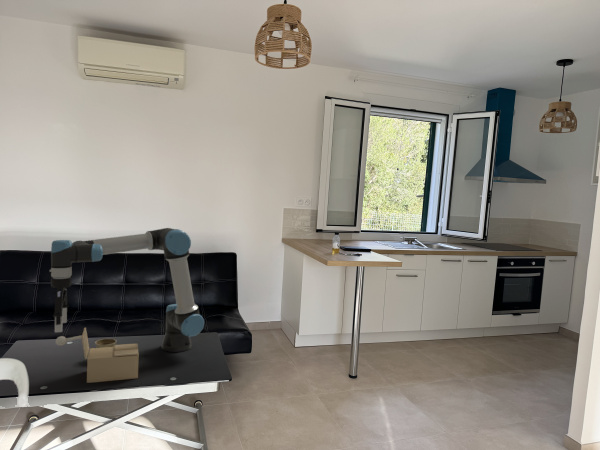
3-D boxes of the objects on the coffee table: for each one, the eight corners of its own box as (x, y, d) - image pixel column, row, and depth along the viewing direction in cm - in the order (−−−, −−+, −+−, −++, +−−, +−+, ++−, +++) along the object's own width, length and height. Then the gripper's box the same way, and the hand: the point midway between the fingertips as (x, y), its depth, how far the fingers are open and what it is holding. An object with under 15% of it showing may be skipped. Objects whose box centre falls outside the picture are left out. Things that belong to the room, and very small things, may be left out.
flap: (85, 327, 193) (57, 332, 189) (82, 336, 181) (52, 342, 177) (89, 348, 194) (61, 354, 190) (86, 358, 182) (56, 365, 178)
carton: (137, 366, 203) (138, 343, 202) (137, 378, 190) (138, 353, 189) (89, 370, 195) (90, 346, 195) (86, 382, 182) (87, 356, 182)
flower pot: (108, 363, 204) (108, 345, 203) (90, 361, 206) (90, 343, 205) (120, 357, 213) (120, 339, 213) (102, 354, 215) (103, 337, 215)
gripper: (55, 272, 193) (55, 319, 194) (45, 283, 169) (45, 336, 171) (74, 272, 195) (74, 318, 197) (67, 282, 172) (67, 335, 173)
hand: (60, 327), depth 184 cm, fingers open, 13 cm apart
